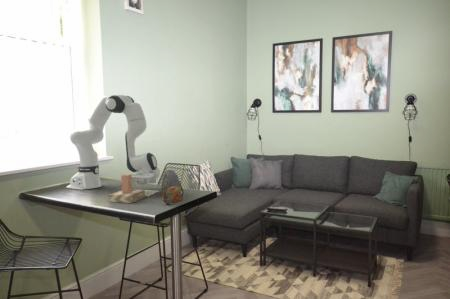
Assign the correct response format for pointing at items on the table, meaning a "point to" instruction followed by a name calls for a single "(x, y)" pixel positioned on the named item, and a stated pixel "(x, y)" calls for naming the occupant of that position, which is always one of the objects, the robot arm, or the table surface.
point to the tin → (172, 194)
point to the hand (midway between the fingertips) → (130, 181)
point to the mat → (150, 192)
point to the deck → (127, 196)
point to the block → (126, 183)
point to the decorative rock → (170, 180)
